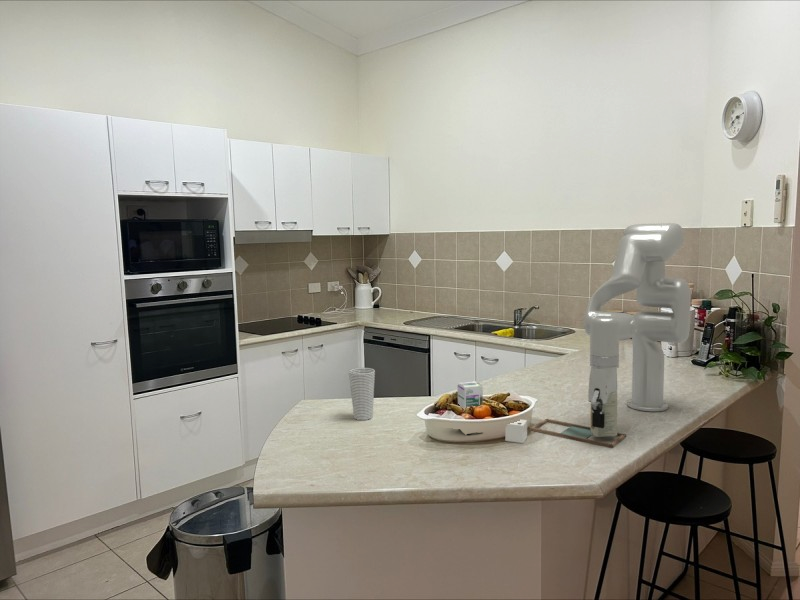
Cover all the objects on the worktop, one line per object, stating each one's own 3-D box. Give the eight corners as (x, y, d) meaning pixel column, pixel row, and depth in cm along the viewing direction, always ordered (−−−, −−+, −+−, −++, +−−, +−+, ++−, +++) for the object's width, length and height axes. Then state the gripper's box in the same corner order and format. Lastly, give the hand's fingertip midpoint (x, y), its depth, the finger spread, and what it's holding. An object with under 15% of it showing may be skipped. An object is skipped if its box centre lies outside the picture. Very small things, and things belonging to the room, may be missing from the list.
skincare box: (611, 431, 164) (612, 389, 163) (617, 436, 160) (618, 393, 159) (589, 431, 164) (590, 389, 163) (594, 437, 160) (595, 394, 158)
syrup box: (465, 435, 168) (464, 386, 166) (457, 429, 173) (457, 382, 172) (483, 433, 169) (483, 385, 167) (475, 427, 175) (475, 380, 173)
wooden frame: (546, 421, 179) (546, 418, 178) (626, 436, 163) (626, 434, 163) (530, 430, 170) (530, 427, 170) (612, 448, 155) (612, 445, 155)
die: (509, 435, 167) (509, 418, 166) (527, 437, 165) (527, 419, 164) (505, 440, 163) (505, 423, 162) (523, 443, 160) (523, 425, 160)
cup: (360, 412, 192) (358, 366, 191) (381, 415, 188) (380, 369, 186) (344, 419, 185) (343, 372, 183) (366, 423, 181) (365, 374, 179)
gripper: (602, 353, 169) (601, 413, 171) (578, 365, 155) (578, 429, 157) (628, 356, 164) (627, 417, 166) (606, 368, 151) (605, 435, 153)
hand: (603, 422), depth 162 cm, fingers closed on skincare box, 7 cm apart
